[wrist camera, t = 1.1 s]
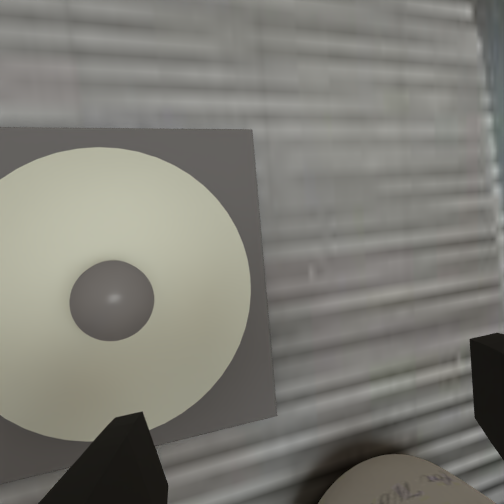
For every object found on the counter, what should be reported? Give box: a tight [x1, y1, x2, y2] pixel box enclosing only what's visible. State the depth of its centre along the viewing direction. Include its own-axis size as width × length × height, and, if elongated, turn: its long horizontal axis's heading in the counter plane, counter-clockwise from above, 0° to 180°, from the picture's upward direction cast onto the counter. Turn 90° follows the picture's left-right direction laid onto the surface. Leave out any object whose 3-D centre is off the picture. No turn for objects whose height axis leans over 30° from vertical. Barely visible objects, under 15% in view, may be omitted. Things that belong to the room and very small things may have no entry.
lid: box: [0, 147, 251, 442], centre depth 17 cm, size 13×13×4 cm
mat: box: [0, 127, 277, 484], centre depth 19 cm, size 15×15×1 cm
